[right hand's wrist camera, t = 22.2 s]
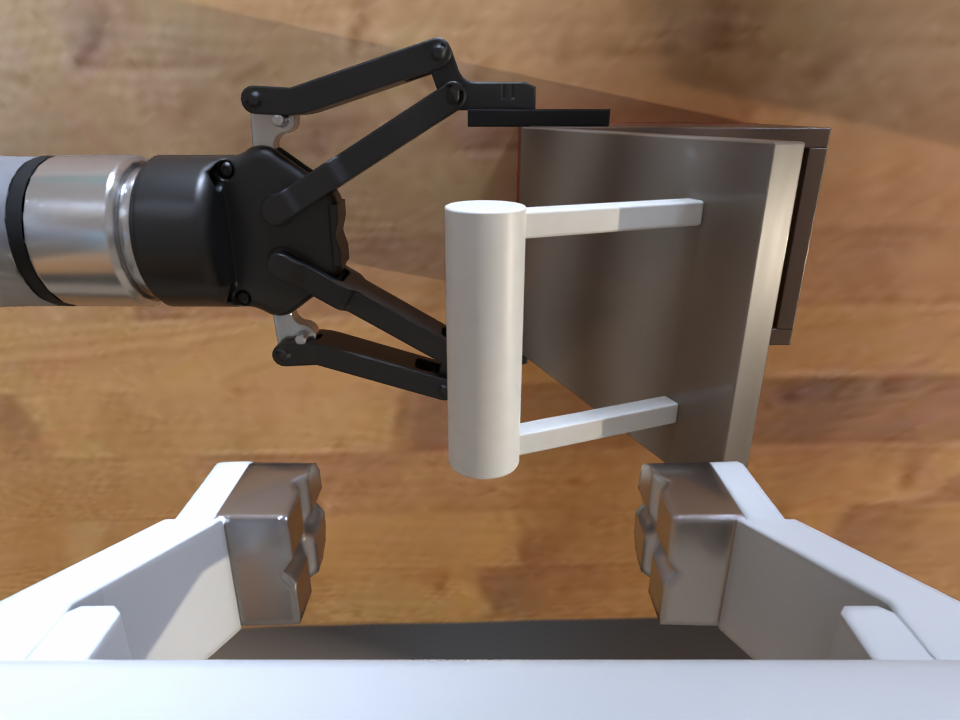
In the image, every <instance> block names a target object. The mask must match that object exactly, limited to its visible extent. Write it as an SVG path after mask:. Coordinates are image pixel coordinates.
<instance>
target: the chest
mask: <svg viewBox="0 0 960 720" xmlns="http://www.w3.org/2000/svg"><path fill="white" fill-rule="evenodd" d="M530 127H550V128H568V129H585V130H603V131H621V132H639V133H657V134H675V135H693V136H710V137H728V138H746V139H764V140H782V141H800V142H804V143H805V146H804V152H803V157H802V163H801V169H800V174H799V180H798V185H797V191H796V197H795V202H794V208H793V213H792V219H791V224H790V230H789V236H788V241H787V247H786V252H785V258H784V264H783V269H782V275H781V280H780V286H779V292H778V297H777V303H776V308H775V314H774V320H773V325H772V331H771V336H770V342H769V345H790V342H791V337H792V332H793V327H794V322H795V316H796V311H797V306H798V301H799V296H800V290H801V285H802V280H803V275H804V269H805V264H806V259H807V254H808V249H809V243H810V238H811V233H812V228H813V222H814V217H815V212H816V207H817V202H818V196H819V191H820V186H821V181H822V175H823V170H824V165H825V160H826V155H827V147H828V143H829V138H830V133H831V128H824V127H806V126H787V125H769V124H755V123H609V126H530ZM521 135H522V127H519V136H518V178H517V203H520V174H521Z"/></svg>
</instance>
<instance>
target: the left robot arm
mask: <svg viewBox="0 0 960 720" xmlns="http://www.w3.org/2000/svg"><path fill="white" fill-rule="evenodd" d="M431 74H432V76H433V79H434V82H435V84H436V87H437V90H436V91H434V92H433V93H431V94H430V95H428V96H427V97H425V98H424V99H422V100H421V101H419V102H418V103H416V104H414V105H413V106H411V107H410V108H408V109H407V110H405V111H404V112H402V113H401V114H399V115H398V116H396V117H395V118H393V119H392V120H390V121H389V122H387V123H386V124H384V125H383V126H381V127H380V128H378V129H376V130H375V131H373V132H372V133H370V134H369V135H367V136H366V137H364V138H363V139H361V140H360V141H358V142H357V143H355V144H354V145H352V146H351V147H349V148H348V149H346V150H345V151H343V152H342V153H340V154H338V155H337V156H335V157H334V158H332V159H330V160H329V161H327V162H325V163H324V164H322V165H321V166H319V167H318V168H316V169H315V170H312V169H310V168H309V167H307V166H306V165H305V164H303V163H302V162H300V161H299V160H298V159H296V158H295V157H293V156H292V155H290V154H289V153H288V152H286V151H285V150H283V149H282V148H280V147H279V141H280V139H281V137H282V136H283V135H284V134H286V133H290V132H293V131H295V130H296V129H297V128H298V126H299V122H300V116H299V115H308V114H314V113H318V112H322V111H325V110H328V109H331V108H334V107H337V106H340V105H343V104H345V103H348V102H351V101H354V100H357V99H360V98H363V97H366V96H369V95H372V94H375V93H378V92H381V91H384V90H387V89H390V88H393V87H396V86H398V85H401V84H404V83H407V82H410V81H413V80H416V79H419V78H422V77H425V76H428V75H431ZM535 96H536V87H535V86H532V85H530V84H528V83H526V82H470V81H468V80H466V79H465V78H463V77H462V75H461V74H460V72H459V70H458V67H457V64H456V61H455V58H454V55H453V52H452V50H451V48H450V46H449V44H448V42H446V41H445V40H444V39H442V38H433V39H430V40H427V41H424V42H421V43H418V44H415V45H413V46H410V47H407V48H404V49H401V50H398V51H395V52H392V53H389V54H386V55H384V56H381V57H378V58H375V59H372V60H369V61H366V62H363V63H360V64H358V65H355V66H352V67H349V68H346V69H343V70H340V71H337V72H334V73H331V74H329V75H326V76H323V77H320V78H317V79H314V80H311V81H308V82H305V83H303V84H300V85H297V86H294V87H291V88H286V87H267V86H249V87H247V88H245V89H244V90H243V92H242V95H241V101H242V105H243V106H244V108H245V109H246V110H247V111H248V112H250V113H251V124H252V137H253V147H251V148H249V149H248V150H246V151H245V152H243V153H241V154H239V155H157V156H154V157H153V158H151V159H150V160H149V159H147V158H144V157H142V156H140V155H56V156H40V157H24V156H0V307H10V306H132V307H154V306H157V305H159V304H161V303H165V304H167V305H169V306H219V307H237V306H251V307H256V308H259V309H262V310H264V311H266V312H268V313H270V314H273V317H274V323H275V329H276V335H277V340H278V345H277V346H276V347H275V348H274V350H273V352H272V356H273V359H274V361H275V362H276V363H277V364H279V365H281V366H302V365H319V366H323V367H326V368H330V369H333V370H337V371H341V372H344V373H348V374H351V375H355V376H358V377H362V378H365V379H369V380H373V381H376V382H380V383H383V384H387V385H390V386H394V387H397V388H401V389H405V390H408V391H412V392H415V393H419V394H422V395H426V396H429V397H433V398H437V399H440V400H448V388H447V328H446V325H445V324H443V323H441V322H439V321H438V320H436V319H434V318H432V317H431V316H429V315H427V314H425V313H423V312H422V311H420V310H418V309H416V308H415V307H413V306H411V305H409V304H408V303H406V302H404V301H402V300H401V299H399V298H397V297H395V296H393V295H392V294H390V293H388V292H386V291H385V290H383V289H381V288H379V287H378V286H376V285H374V284H372V283H370V282H369V281H367V280H366V279H365V278H364V277H363V276H362V275H361V274H360V273H358V272H356V271H355V270H353V269H351V268H349V267H348V266H346V261H347V260H348V259H349V251H348V243H347V240H346V237H345V234H344V231H343V226H344V221H345V216H346V210H345V199H342V198H341V195H340V193H339V192H338V190H337V188H339V187H340V186H342V185H344V184H345V183H347V182H348V181H350V180H351V179H353V178H354V177H356V176H357V175H359V174H360V173H362V172H363V171H365V170H366V169H368V168H370V167H371V166H373V165H374V164H376V163H377V162H379V161H380V160H382V159H383V158H385V157H387V156H388V155H390V154H391V153H393V152H394V151H396V150H397V149H399V148H401V147H402V146H404V145H405V144H407V143H408V142H410V141H411V140H413V139H414V138H416V137H418V136H419V135H421V134H422V133H424V132H425V131H427V130H428V129H430V128H431V127H433V126H435V125H436V124H438V123H439V122H441V121H442V120H444V119H445V118H447V117H448V116H450V115H452V114H453V113H455V112H456V111H458V110H468V127H530V126H609V118H610V109H535ZM312 297H316V298H318V299H320V300H321V301H323V302H325V303H327V304H329V305H330V306H332V307H334V308H336V309H338V310H344V311H348V312H350V313H352V314H354V315H356V316H357V317H359V318H361V319H363V320H365V321H367V322H368V323H370V324H372V325H374V326H376V327H377V328H379V329H381V330H383V331H385V332H386V333H388V334H390V335H392V336H394V337H395V338H397V339H399V340H401V341H403V342H405V343H406V344H408V345H410V346H412V347H414V348H415V349H417V350H419V351H421V352H423V353H424V354H426V355H428V356H430V357H432V358H434V359H435V360H434V359H431V358H427V357H424V356H420V355H417V354H414V353H410V352H407V351H403V350H400V349H396V348H393V347H389V346H386V345H382V344H379V343H375V342H372V341H368V340H365V339H362V338H358V337H355V336H351V335H348V334H344V333H341V332H337V331H332V330H324V329H319V328H318V326H317V324H316V323H315V322H313V321H311V320H306V319H303V318H301V317H300V316H299V315H298V313H297V310H296V309H298V308H299V307H300V306H302V305H303V304H304V303H306V302H307V301H308V300H310V299H311V298H312ZM525 363H527V358H526V357H525V356H524V355H522V365H523V364H525Z"/></svg>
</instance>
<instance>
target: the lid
mask: <svg viewBox="0 0 960 720" xmlns="http://www.w3.org/2000/svg"><path fill="white" fill-rule="evenodd" d="M804 146H805V143H804V142H800V141H782V140H764V139H746V138H728V137H710V136H693V135H675V134H657V133H639V132H621V131H603V130H585V129H568V128H550V127H522V135H521V174H520V203H516V202H509V201H495V200H474V201H460V202H454V203H450V204H448V205H446V206H445V267H446V328H447V388H448V449H449V464H450V466H451V468H452V469H453V470H454V471H456V472H457V473H459V474H461V475H463V476H466V477H469V478H474V479H494V478H499V477H503V476H505V475H508V474H510V473H511V472H513V471H514V470H515V469H516V467H517V465H518V463H519V455H523V454H528V453H533V452H537V451H542V450H547V449H552V448H557V447H561V446H566V445H571V444H576V443H580V442H585V441H590V440H595V439H600V438H604V437H609V436H614V435H619V434H624V433H627V434H628V435H629V436H631V437H632V438H633V439H635V440H636V441H637V442H639V443H640V444H641V445H643V446H644V447H645V448H647V449H648V450H649V451H651V452H652V453H653V454H655V455H656V456H657V457H658V458H660V459H661V460H662V461H664V462H665V463H695V462H730V461H738V462H740V463H742V464H743V465H744V466H745V467H746V469H747V465H748V459H749V454H750V448H751V443H752V437H753V431H754V426H755V420H756V415H757V409H758V404H759V398H760V392H761V387H762V381H763V376H764V370H765V364H766V359H767V353H768V348H769V342H770V336H771V331H772V325H773V320H774V314H775V308H776V303H777V297H778V292H779V286H780V280H781V275H782V269H783V264H784V258H785V252H786V247H787V241H788V236H789V230H790V224H791V219H792V213H793V208H794V202H795V197H796V191H797V185H798V180H799V174H800V169H801V163H802V157H803V152H804ZM522 355H524V356H525V357H526V358H528V359H529V360H530V361H532V362H533V363H534V364H536V365H537V366H538V367H540V368H541V369H542V370H544V371H545V372H546V373H548V374H549V375H550V376H551V377H553V378H554V379H555V380H557V381H558V382H559V383H561V384H562V385H563V386H565V387H566V388H567V389H569V390H570V391H571V392H573V393H574V394H575V395H577V396H578V397H579V398H581V399H582V400H583V401H585V402H586V403H587V404H588V405H590V406H591V407H592V408H594V409H593V410H588V411H582V412H577V413H572V414H567V415H561V416H556V417H551V418H546V419H540V420H535V421H530V422H524V423H520V409H521V375H522Z"/></svg>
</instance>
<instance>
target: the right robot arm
mask: <svg viewBox="0 0 960 720" xmlns="http://www.w3.org/2000/svg"><path fill="white" fill-rule="evenodd" d="M321 489H322V485H321V478H320V470H319V468H318V466H317V464H316V463H281V462H254V463H253V462H251V461H247V462H221V463H217V464H216V465H215V467H214V468H213V469H212V471H211V472H210V473H209V475H208V476H207V477H206V479H205V480H204V481H203V483H202V484H201V485H200V487H199V488H198V489H197V491H196V492H195V493H194V495H193V496H192V497H191V499H190V500H189V501H188V503H187V504H186V505H185V507H184V508H183V509H182V511H181V512H180V513H179V515H178V516H177V517H176V519H165V520H163V521H161V522H159V523H157V524H155V525H153V526H151V527H149V528H147V529H145V530H143V531H141V532H139V533H137V534H135V535H133V536H131V537H129V538H127V539H125V540H123V541H121V542H119V543H117V544H115V545H113V546H111V547H108V548H106V549H104V550H102V551H100V552H98V553H96V554H94V555H92V556H90V557H88V558H86V559H84V560H82V561H80V562H78V563H76V564H74V565H72V566H70V567H68V568H66V569H64V570H62V571H60V572H58V573H56V574H54V575H52V576H50V577H48V578H46V579H44V580H42V581H40V582H38V583H36V584H34V585H32V586H30V587H28V588H26V589H24V590H22V591H20V592H18V593H16V594H14V595H12V596H10V597H8V598H6V599H4V600H2V601H0V720H960V602H959V601H957V600H955V599H953V598H951V597H949V596H947V595H945V594H943V593H941V592H939V591H937V590H935V589H933V588H931V587H929V586H927V585H925V584H923V583H921V582H919V581H917V580H915V579H913V578H911V577H909V576H907V575H905V574H903V573H901V572H899V571H897V570H895V569H893V568H891V567H889V566H887V565H885V564H883V563H881V562H879V561H877V560H875V559H873V558H871V557H869V556H867V555H865V554H863V553H861V552H859V551H857V550H855V549H853V548H851V547H849V546H847V545H845V544H843V543H841V542H839V541H837V540H835V539H833V538H831V537H829V536H827V535H825V534H823V533H821V532H819V531H817V530H815V529H813V528H811V527H809V526H807V525H805V524H803V523H801V522H799V521H797V520H795V519H784V517H783V516H782V515H781V513H780V512H779V511H778V509H777V508H776V507H775V506H774V504H773V503H772V502H771V500H770V499H769V498H768V496H767V495H766V494H765V492H764V491H763V490H762V488H761V487H760V486H759V484H758V483H757V482H756V480H755V479H754V478H753V476H752V475H751V474H750V472H749V471H748V470H747V469H746V467H745V466H744V465H743V464H742V463H740V462H738V461H730V462H695V463H654V464H643V465H642V468H641V471H640V476H639V485H638V489H639V491H640V493H641V496H642V498H643V501H644V503H643V504H642V505H641V506H640V508H639V509H638V510H637V511H636V514H635V527H634V535H635V549H636V554H637V559H638V562H639V565H640V569H641V571H642V572H643V573H644V574H646V575H647V576H649V577H650V583H649V594H650V597H651V600H652V603H653V606H654V608H655V611H656V614H657V617H658V619H659V622H660V624H675V625H712V626H719V629H720V630H721V631H722V632H723V633H724V634H725V635H727V636H728V637H729V638H730V639H731V640H732V641H733V642H734V643H736V644H737V645H738V646H739V647H740V648H741V649H742V650H743V651H745V652H746V653H747V654H748V655H749V656H750V657H751V658H752V659H753V660H207V659H208V658H209V657H210V656H211V655H212V654H214V653H215V652H216V651H217V650H218V649H219V648H220V647H221V646H222V645H224V644H225V643H226V642H227V641H228V640H229V639H230V638H232V637H233V636H234V635H235V634H236V633H237V632H238V631H239V630H240V629H241V626H248V625H283V624H300V622H301V620H302V617H303V614H304V611H305V608H306V606H307V603H308V600H309V597H310V594H311V583H310V577H311V576H313V575H314V574H316V573H317V572H318V571H319V569H320V565H321V562H322V559H323V554H324V547H325V540H326V524H325V513H324V511H323V510H322V509H321V508H320V506H319V505H318V504H317V503H316V501H317V498H318V496H319V493H320V491H321Z"/></svg>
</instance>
